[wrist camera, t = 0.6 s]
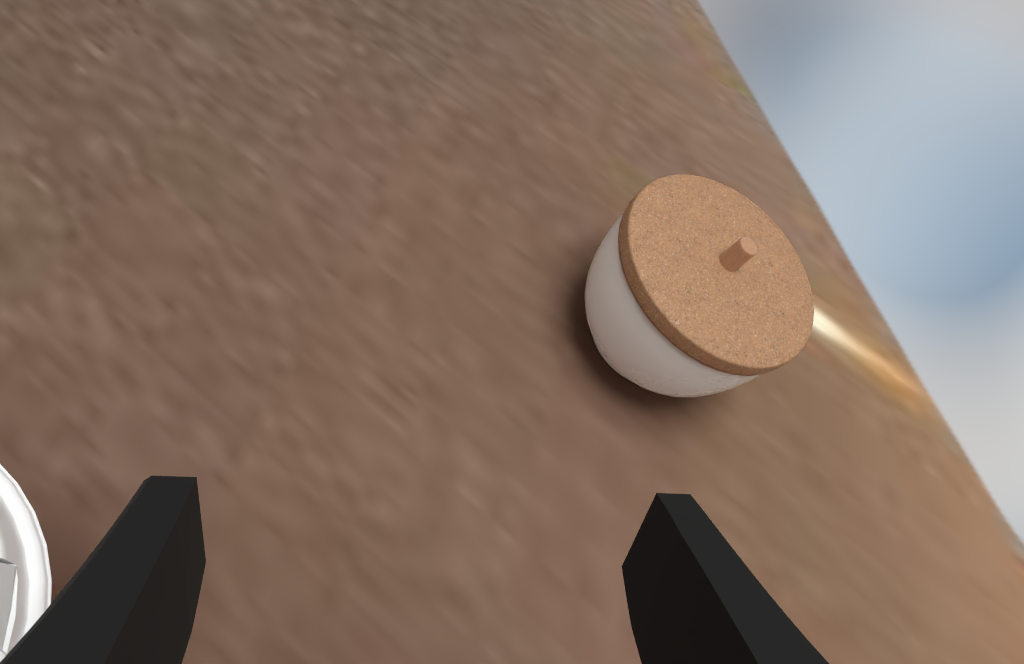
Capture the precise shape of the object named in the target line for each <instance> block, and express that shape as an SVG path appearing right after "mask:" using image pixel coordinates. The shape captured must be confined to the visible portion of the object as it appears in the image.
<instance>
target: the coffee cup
mask: <svg viewBox="0 0 1024 664" xmlns="http://www.w3.org/2000/svg"><path fill="white" fill-rule="evenodd" d="M51 592H52V578H51V571H50V564H49V557H48V550H47V544H46V541H45V539H44V536H43V533H42V530H41V527H40V524H39V522H38V519H37V516H36V513H35V511H34V510H33V508H32V506H31V505H30V503H29V501H28V500H27V498H26V496H25V495H24V493H23V491H22V490H21V488H20V486H19V485H18V483H17V482H16V481H15V480H14V479H13V478H12V477H11V475H10V474H9V473H8V472H7V471H6V470H5V469H4V468H3V467H2V466H1V464H0V662H1V661H2V660H3V659H4V657H5V656H6V655H7V654H8V653H9V652H10V651H11V650H12V648H13V647H14V646H15V645H16V644H17V643H18V642H19V641H20V639H21V638H22V637H23V636H24V635H25V634H26V633H27V632H28V630H29V629H30V628H31V627H32V626H33V625H34V624H35V622H36V621H37V620H38V619H39V618H40V617H41V615H42V614H43V613H44V612H45V611H46V609H47V608H48V607H49V606H50V604H51Z"/></svg>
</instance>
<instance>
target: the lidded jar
mask: <svg viewBox="0 0 1024 664" xmlns="http://www.w3.org/2000/svg"><path fill="white" fill-rule="evenodd" d="M585 310H586V316H587V321H588V324H589V327H590V330H591V333H592V337H593V340H594V343H595V345H596V347H597V349H598V351H599V353H600V354H601V356H602V357H603V359H604V360H605V361H606V362H607V364H608V365H609V366H610V367H611V368H612V369H613V370H614V371H616V372H617V373H618V374H620V375H621V376H622V377H624V378H626V379H628V380H629V381H632V382H633V383H635V384H637V385H639V386H640V387H642V388H644V389H647V390H650V391H652V392H655V393H659V394H663V395H667V396H672V397H701V396H707V395H712V394H716V393H720V392H723V391H726V390H728V389H731V388H734V387H737V386H739V385H742V384H745V383H747V382H749V381H751V380H753V379H755V378H757V377H758V376H760V375H762V374H765V373H767V372H770V371H773V370H775V369H778V368H779V367H781V366H783V365H785V364H786V363H788V362H789V361H791V360H792V359H794V358H795V357H796V356H797V355H798V354H799V353H800V352H801V351H802V349H803V348H804V346H805V345H806V343H807V341H808V339H809V336H810V332H811V329H812V325H813V315H814V307H813V297H812V292H811V287H810V283H809V280H808V278H807V275H806V272H805V269H804V267H803V265H802V263H801V261H800V259H799V257H798V255H797V253H796V252H795V250H794V248H793V247H792V245H791V244H790V242H789V241H788V239H787V238H786V236H785V235H784V234H783V232H782V231H781V230H780V229H779V227H778V226H777V225H776V224H775V223H774V222H773V221H772V220H771V219H770V218H769V217H768V216H767V215H766V214H765V213H764V212H763V211H762V210H761V209H760V208H759V207H758V206H757V205H755V204H754V203H753V202H751V201H750V200H749V199H747V198H746V197H744V196H743V195H741V194H740V193H738V192H737V191H735V190H734V189H732V188H730V187H728V186H725V185H723V184H721V183H719V182H716V181H714V180H711V179H708V178H705V177H700V176H695V175H684V174H679V175H671V176H665V177H662V178H659V179H656V180H654V181H652V182H651V183H649V184H647V185H646V186H645V187H644V188H643V189H642V190H641V191H640V192H639V193H638V194H637V195H636V196H635V197H634V198H633V199H632V201H631V202H630V203H629V205H628V207H627V208H626V210H625V212H624V213H623V214H622V215H621V216H620V217H619V219H618V220H617V221H616V222H615V223H614V225H613V226H612V227H611V228H610V230H609V232H608V233H607V235H606V236H605V238H604V239H603V241H602V243H601V244H600V246H599V248H598V249H597V251H596V254H595V256H594V258H593V260H592V263H591V265H590V268H589V271H588V276H587V280H586V287H585Z"/></svg>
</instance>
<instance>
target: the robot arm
mask: <svg viewBox="0 0 1024 664" xmlns="http://www.w3.org/2000/svg"><path fill="white" fill-rule="evenodd" d="M205 563H206V559H205V550H204V541H203V532H202V523H201V513H200V504H199V495H198V486H197V477H175V476H150V477H149V478H147V479H146V480H144V481H143V483H142V484H141V486H140V487H139V489H138V490H137V492H136V493H135V495H134V496H133V498H132V499H131V500H130V502H129V503H128V505H127V506H126V508H125V509H124V510H123V512H122V513H121V515H120V516H119V517H118V519H117V520H116V522H115V523H114V524H113V526H112V527H111V528H110V530H109V531H108V532H107V534H106V535H105V536H104V538H103V539H102V540H101V542H100V543H99V544H98V546H97V547H96V548H95V550H94V551H93V552H92V553H91V555H90V556H89V557H88V559H87V560H86V561H85V563H84V564H83V565H82V566H81V568H80V569H79V570H78V571H77V572H76V574H75V575H74V576H73V577H72V579H71V580H70V581H69V582H68V584H67V585H66V586H65V587H64V588H63V590H62V591H61V592H60V593H59V595H58V596H57V597H56V598H55V600H54V601H53V602H52V603H51V604H50V606H49V607H48V608H47V609H46V611H45V612H44V613H43V614H42V615H41V617H40V618H39V619H38V620H37V621H36V622H35V624H34V625H33V626H32V627H31V628H30V629H29V630H28V632H27V633H26V634H25V635H24V636H23V637H22V638H21V639H20V641H19V642H18V643H17V644H16V645H15V646H14V647H13V648H12V650H11V651H10V652H9V653H8V654H7V655H6V656H5V657H4V659H3V660H2V661H1V662H0V664H182V660H183V657H184V654H185V651H186V648H187V644H188V641H189V638H190V635H191V632H192V627H193V622H194V618H195V613H196V608H197V604H198V599H199V594H200V589H201V584H202V579H203V573H204V568H205ZM622 570H623V577H624V584H625V591H626V597H627V603H628V609H629V615H630V620H631V626H632V630H633V634H634V637H635V641H636V645H637V648H638V652H639V655H640V659H641V662H642V664H829V663H828V662H827V661H826V660H825V659H824V658H823V656H822V655H821V654H820V653H819V652H818V651H817V650H816V649H815V648H814V646H813V645H812V644H811V643H810V642H809V641H808V640H807V639H806V638H805V636H804V635H803V634H802V633H801V632H800V631H799V629H798V628H797V627H796V626H795V625H794V624H793V622H792V621H791V620H790V619H789V618H788V617H787V615H786V614H785V613H784V612H783V611H782V609H781V608H780V607H779V606H778V605H777V603H776V602H775V601H774V600H773V598H772V597H771V596H770V595H769V594H768V592H767V591H766V590H765V589H764V588H763V586H762V585H761V584H760V583H759V581H758V580H757V579H756V578H755V576H754V575H753V574H752V573H751V571H750V570H749V569H748V568H747V566H746V565H745V564H744V562H743V561H742V560H741V559H740V557H739V556H738V555H737V554H736V552H735V551H734V550H733V548H732V547H731V546H730V545H729V543H728V542H727V541H726V539H725V538H724V537H723V536H722V534H721V533H720V532H719V530H718V529H717V528H716V527H715V525H714V524H713V523H712V521H711V520H710V519H709V518H708V516H707V515H706V514H705V512H704V511H703V510H702V509H701V507H700V506H699V505H698V503H697V502H696V501H695V500H694V498H693V497H692V496H691V495H690V494H666V493H656V495H655V498H654V500H653V502H652V504H651V506H650V508H649V510H648V512H647V514H646V517H645V519H644V521H643V523H642V525H641V527H640V529H639V531H638V533H637V536H636V538H635V540H634V542H633V544H632V546H631V548H630V550H629V552H628V555H627V557H626V559H625V561H624V563H623V565H622Z"/></svg>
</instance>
